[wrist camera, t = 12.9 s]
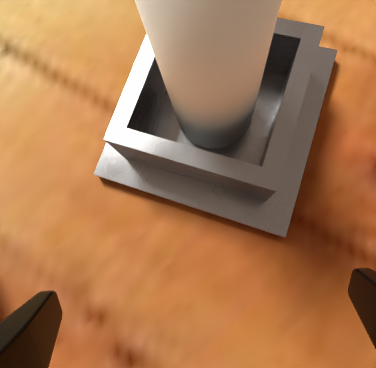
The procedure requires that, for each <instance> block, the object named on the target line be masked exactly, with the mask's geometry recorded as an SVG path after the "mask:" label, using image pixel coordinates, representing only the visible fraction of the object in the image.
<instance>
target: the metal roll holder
mask: <svg viewBox="0 0 376 368" xmlns="http://www.w3.org/2000/svg"><path fill="white" fill-rule="evenodd" d="M323 29H324V26H319V25H314V24H308V23H303V22H298V21H292V20H287V19H282V18H277V21H276V25H275V29H274V33H273V37H272V41H271V45H270V49H269V53H268V57H267V61H266V65H265V69H264V73H263V77H262V81H261V85H260V89H259V93H258V97H257V101H256V104H255V108H254V112H253V116H252V120H251V123H250V126H249V128H248V130H247V131H246V133H245V134H244V135H243V136H242V137H241V138H240V139H239V140H238V141H236V142H235V143H233V144H231V145H229V146H226V147H222V148H215V149H214V148H205V147H201V146H199V145H196V144H195V143H193V142H191V141H190V140H189V139H188V138H187V137H186V136H185V135H184V133H183V132H182V130H181V128H180V126H179V123H178V120H177V117H176V114H175V112H174V109H173V106H172V103H171V100H170V98H169V95H168V92H167V89H166V86H165V84H164V81H163V78H162V75H161V72H160V70H159V67H158V64H157V61H156V58H155V56H154V53H153V50H152V47H151V44H150V42H149V39H148V36H147V34H146V37H145V39H144V41H143V44H142V46H141V49H140V51H139V54H138V56H137V59H136V61H135V63H134V66H133V68H132V71H131V73H130V76H129V78H128V81H127V83H126V85H125V88H124V90H123V93H122V95H121V98H120V100H119V102H118V105H117V107H116V110H115V112H114V115H113V117H112V120H111V122H110V124H109V127H108V129H107V132H106V134H105V137H104V139H103V140H105V141H106V142H107V143H106V145H105V148H104V150H103V153H102V155H101V157H100V160H99V162H98V165H97V167H96V170H95V172H94V175H96V176H98V177H100V178H103V179H106V180H109V181H112V182H115V183H118V184H121V185H124V186H127V187H130V188H133V189H136V190H140V191H143V192H146V193H149V194H152V195H155V196H158V197H161V198H164V199H167V200H170V201H173V202H176V203H179V204H182V205H185V206H188V207H191V208H194V209H197V210H200V211H203V212H206V213H209V214H212V215H216V216H219V217H222V218H225V219H228V220H231V221H234V222H237V223H240V224H243V225H246V226H249V227H252V228H255V229H258V230H261V231H264V232H267V233H270V234H273V235H276V236H279V237H282V238H285V237H286V235H287V231H288V228H289V224H290V220H291V217H292V213H293V209H294V206H295V202H296V199H297V195H298V191H299V188H300V184H301V180H302V177H303V173H304V170H305V166H306V162H307V159H308V155H309V151H310V148H311V144H312V140H313V137H314V133H315V130H316V126H317V122H318V119H319V115H320V111H321V108H322V104H323V100H324V97H325V93H326V90H327V86H328V82H329V79H330V75H331V71H332V68H333V64H334V60H335V57H336V53H337V50H334V49H329V48H324V47H319V43H320V40H321V36H322V33H323Z"/></svg>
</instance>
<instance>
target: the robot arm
mask: <svg viewBox="0 0 376 368" xmlns="http://www.w3.org/2000/svg"><path fill="white" fill-rule="evenodd" d="M348 294H349V297H350V299H351V301H352V303H353V305H354V307H355V309H356V311H357V313H358V315H359V317H360V319H361V321H362V323H363V325H364V327H365V329H366V331H367V333H368V335H369V337H370V339H371V341H372V343H373V345H374V347H375V349H376V271H374V270H372V269H370V268H356V269H354V270H353V271H352V274H351V278H350V283H349V287H348ZM61 320H62V309H61V306H60V302H59V299H58V296H57V294H56V292H55V291H41V292H39V293H37V294H36V295H35V296H34V297H32V298H31V299H30V300H28V301H27V302H26V303H25V304H23V305H22V306H21V307H19V308H18V309H17V310H16V311H14V312H13V313H12V314H10V315H9V316H8V317H7V318H5V319H4V320H3V321H1V322H0V368H48V367H49V363H50V360H51V356H52V352H53V349H54V345H55V341H56V338H57V334H58V331H59V327H60V323H61Z"/></svg>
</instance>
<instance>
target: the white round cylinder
mask: <svg viewBox="0 0 376 368" xmlns="http://www.w3.org/2000/svg"><path fill="white" fill-rule="evenodd" d="M281 1H282V0H135V2H136V5H137V8H138V11H139V14H140V16H141V19H142V22H143V25H144V28H145V30H146V33H147V36H148V39H149V42H150V44H151V47H152V50H153V53H154V56H155V58H156V61H157V64H158V67H159V70H160V72H161V75H162V78H163V81H164V84H165V86H166V89H167V92H168V95H169V98H170V100H171V103H172V106H173V109H174V112H175V114H176V117H177V120H178V123H179V126H180V128H181V130H182V132H183V133H184V135H185V136H186V137H187V138H188V139H189V140H190V141H191V142H193V143H195V144H196V145H199V146H201V147H205V148H214V149H215V148H222V147H226V146H229V145H231V144H233V143H235V142H236V141H238V140H239V139H240V138H241V137H242V136H243V135H244V134H245V133H246V131H247V130H248V128H249V126H250V123H251V120H252V116H253V112H254V108H255V104H256V101H257V97H258V93H259V89H260V85H261V81H262V77H263V73H264V69H265V65H266V61H267V57H268V53H269V49H270V45H271V41H272V37H273V33H274V29H275V25H276V21H277V17H278V13H279V9H280V5H281Z"/></svg>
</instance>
